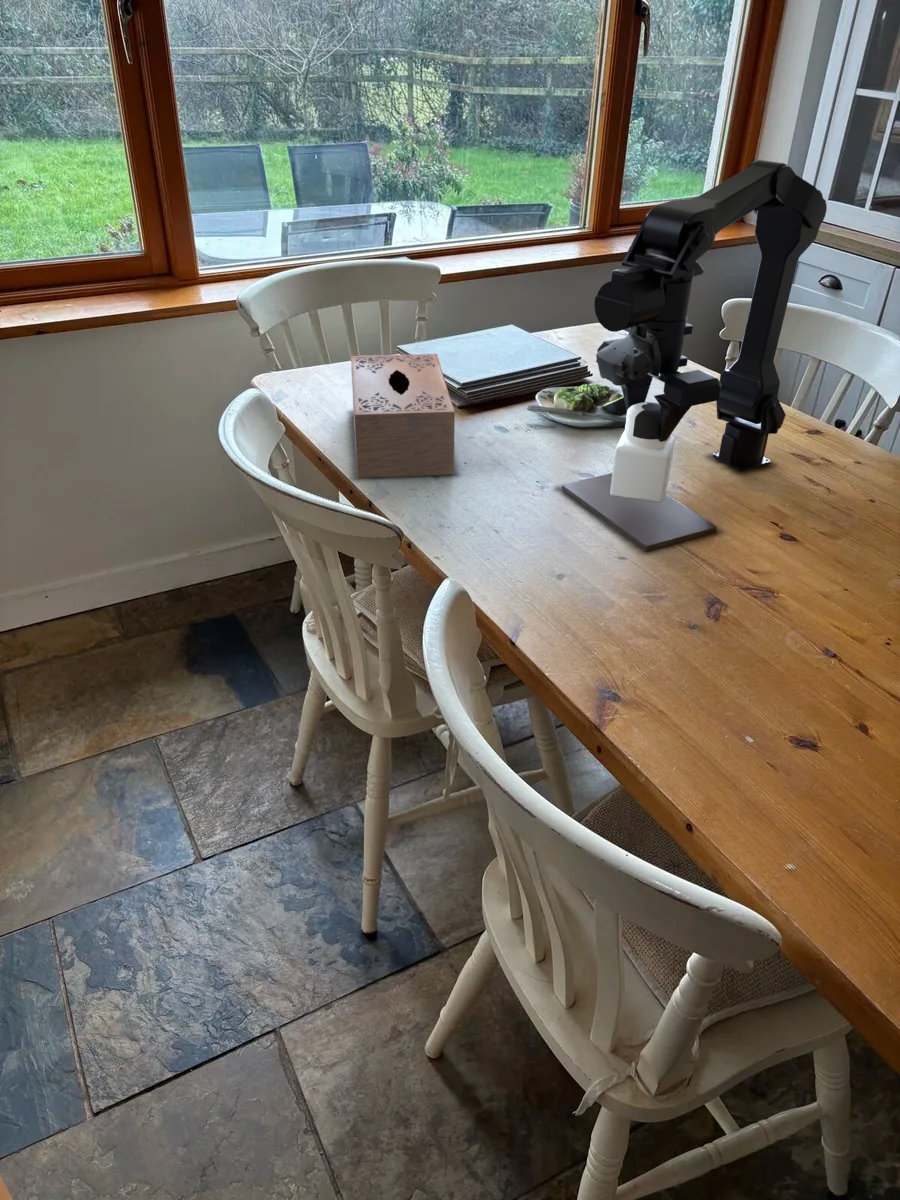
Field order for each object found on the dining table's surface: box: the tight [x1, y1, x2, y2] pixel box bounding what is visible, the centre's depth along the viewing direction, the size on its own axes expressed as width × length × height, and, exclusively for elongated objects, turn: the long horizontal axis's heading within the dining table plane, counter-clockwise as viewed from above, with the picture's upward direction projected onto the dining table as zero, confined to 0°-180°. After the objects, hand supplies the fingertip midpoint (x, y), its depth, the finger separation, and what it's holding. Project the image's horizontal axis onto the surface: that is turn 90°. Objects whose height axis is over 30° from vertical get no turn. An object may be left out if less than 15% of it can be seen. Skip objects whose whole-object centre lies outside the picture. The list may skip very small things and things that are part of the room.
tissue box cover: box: [350, 353, 456, 479], centre depth 144 cm, size 26×14×10 cm, turn 6°
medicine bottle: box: [610, 401, 676, 503], centre depth 123 cm, size 7×7×12 cm
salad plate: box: [526, 383, 627, 428], centre depth 157 cm, size 19×18×5 cm
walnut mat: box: [561, 472, 718, 552], centre depth 128 cm, size 12×20×1 cm, turn 27°
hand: (647, 432), depth 122 cm, fingers closed on medicine bottle, 6 cm apart
